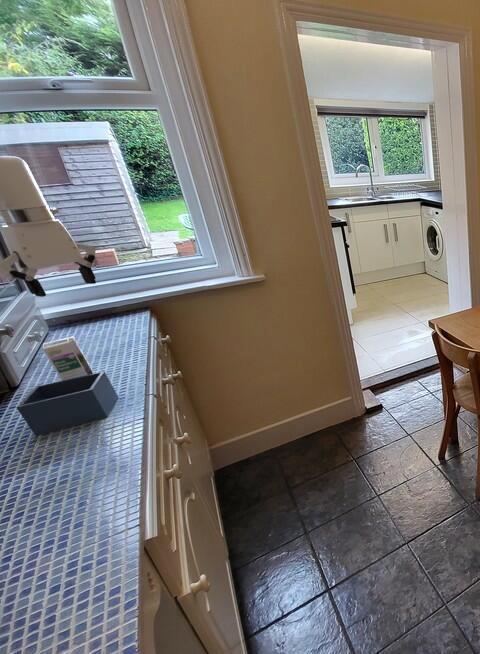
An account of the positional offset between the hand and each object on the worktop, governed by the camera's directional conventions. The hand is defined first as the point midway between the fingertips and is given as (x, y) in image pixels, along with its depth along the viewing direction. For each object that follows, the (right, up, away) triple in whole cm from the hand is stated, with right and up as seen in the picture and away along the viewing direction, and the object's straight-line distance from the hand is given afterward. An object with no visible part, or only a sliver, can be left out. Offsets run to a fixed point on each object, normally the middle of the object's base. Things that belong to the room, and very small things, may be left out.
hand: (67, 289), depth 99 cm
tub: (+6, -30, -2) cm, 31 cm away
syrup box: (-3, -26, +8) cm, 27 cm away
